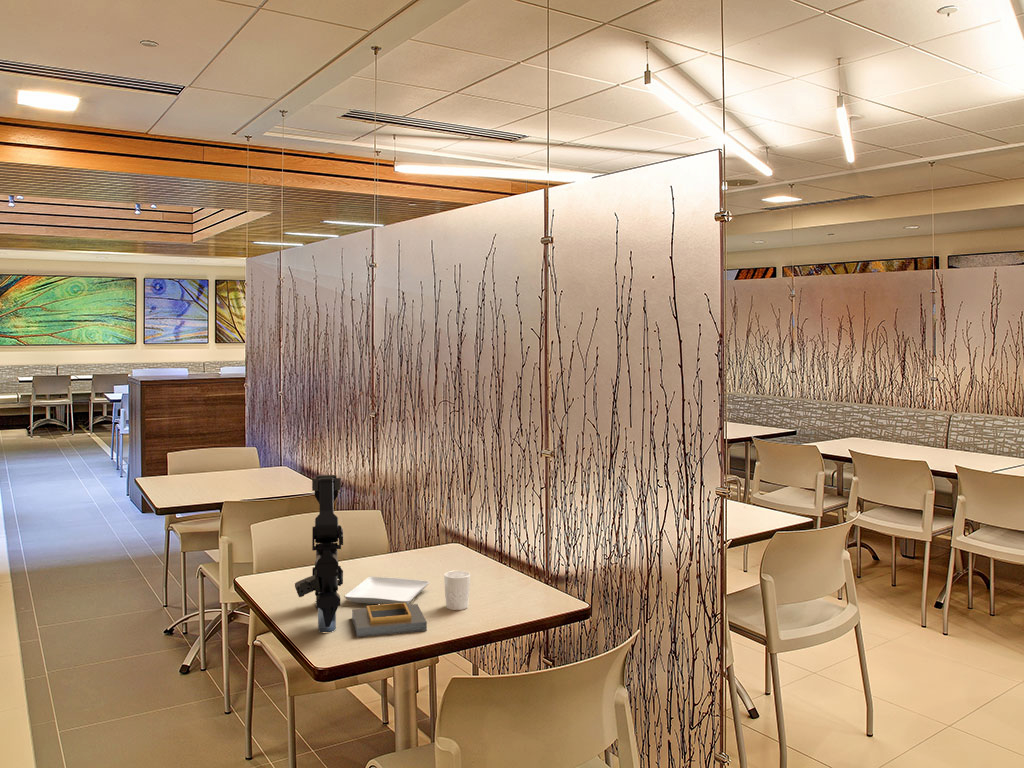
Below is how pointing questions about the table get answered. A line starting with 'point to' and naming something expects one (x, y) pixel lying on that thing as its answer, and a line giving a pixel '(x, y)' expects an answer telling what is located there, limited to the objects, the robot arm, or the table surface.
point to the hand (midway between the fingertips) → (326, 622)
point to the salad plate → (386, 590)
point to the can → (322, 624)
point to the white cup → (457, 589)
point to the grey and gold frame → (388, 619)
